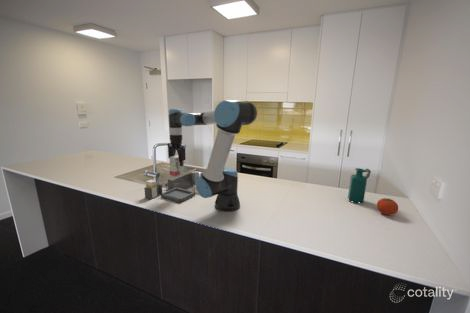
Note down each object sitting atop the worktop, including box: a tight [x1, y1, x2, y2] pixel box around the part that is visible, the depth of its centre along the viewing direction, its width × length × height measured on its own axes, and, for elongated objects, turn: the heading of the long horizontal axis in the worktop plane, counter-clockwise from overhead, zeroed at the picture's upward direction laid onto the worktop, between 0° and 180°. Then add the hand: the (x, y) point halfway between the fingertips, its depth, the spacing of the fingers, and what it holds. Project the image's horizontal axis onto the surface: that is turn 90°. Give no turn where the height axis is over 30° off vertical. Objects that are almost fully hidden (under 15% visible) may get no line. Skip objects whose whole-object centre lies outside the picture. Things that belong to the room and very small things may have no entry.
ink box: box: [169, 154, 185, 177], centre depth 139 cm, size 9×5×12 cm, turn 150°
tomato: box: [376, 197, 399, 216], centre depth 124 cm, size 10×10×10 cm
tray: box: [160, 186, 196, 204], centre depth 144 cm, size 17×14×3 cm
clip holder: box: [144, 178, 175, 200], centre depth 147 cm, size 5×21×11 cm, turn 151°
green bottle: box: [347, 167, 372, 204], centre depth 140 cm, size 10×8×22 cm
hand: (177, 170), depth 140 cm, fingers closed on ink box, 5 cm apart
